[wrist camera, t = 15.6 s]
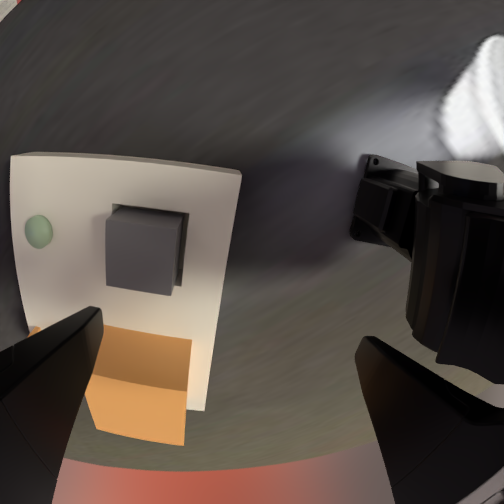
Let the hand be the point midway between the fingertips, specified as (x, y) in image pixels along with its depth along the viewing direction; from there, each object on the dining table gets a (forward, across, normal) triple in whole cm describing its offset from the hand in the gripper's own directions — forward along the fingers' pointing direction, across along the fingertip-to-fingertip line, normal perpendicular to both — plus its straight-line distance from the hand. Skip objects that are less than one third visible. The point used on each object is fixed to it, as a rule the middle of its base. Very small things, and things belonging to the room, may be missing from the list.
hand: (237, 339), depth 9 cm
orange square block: (+9, +5, +11) cm, 15 cm away
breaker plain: (+10, +5, +1) cm, 11 cm away
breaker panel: (+12, +8, +6) cm, 16 cm away
